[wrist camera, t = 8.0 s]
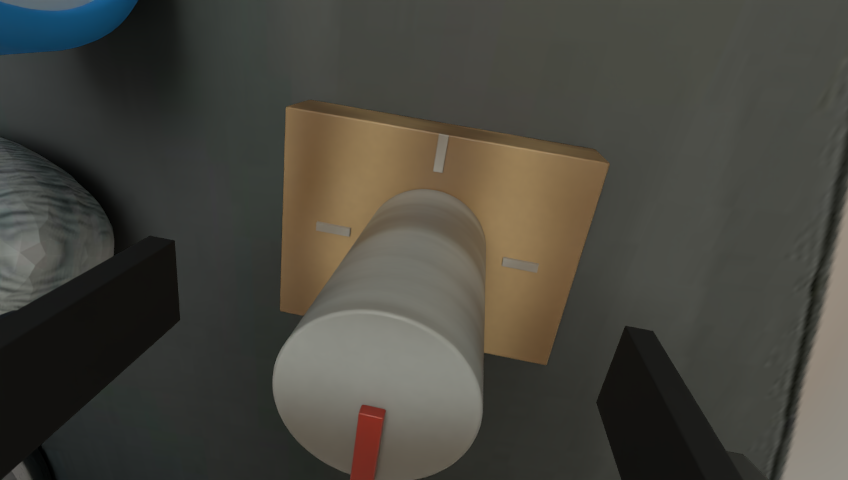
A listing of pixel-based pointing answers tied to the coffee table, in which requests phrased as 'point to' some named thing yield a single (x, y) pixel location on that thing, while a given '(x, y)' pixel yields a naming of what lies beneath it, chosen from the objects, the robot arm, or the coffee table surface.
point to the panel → (452, 174)
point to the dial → (393, 346)
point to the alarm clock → (57, 23)
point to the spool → (44, 227)
